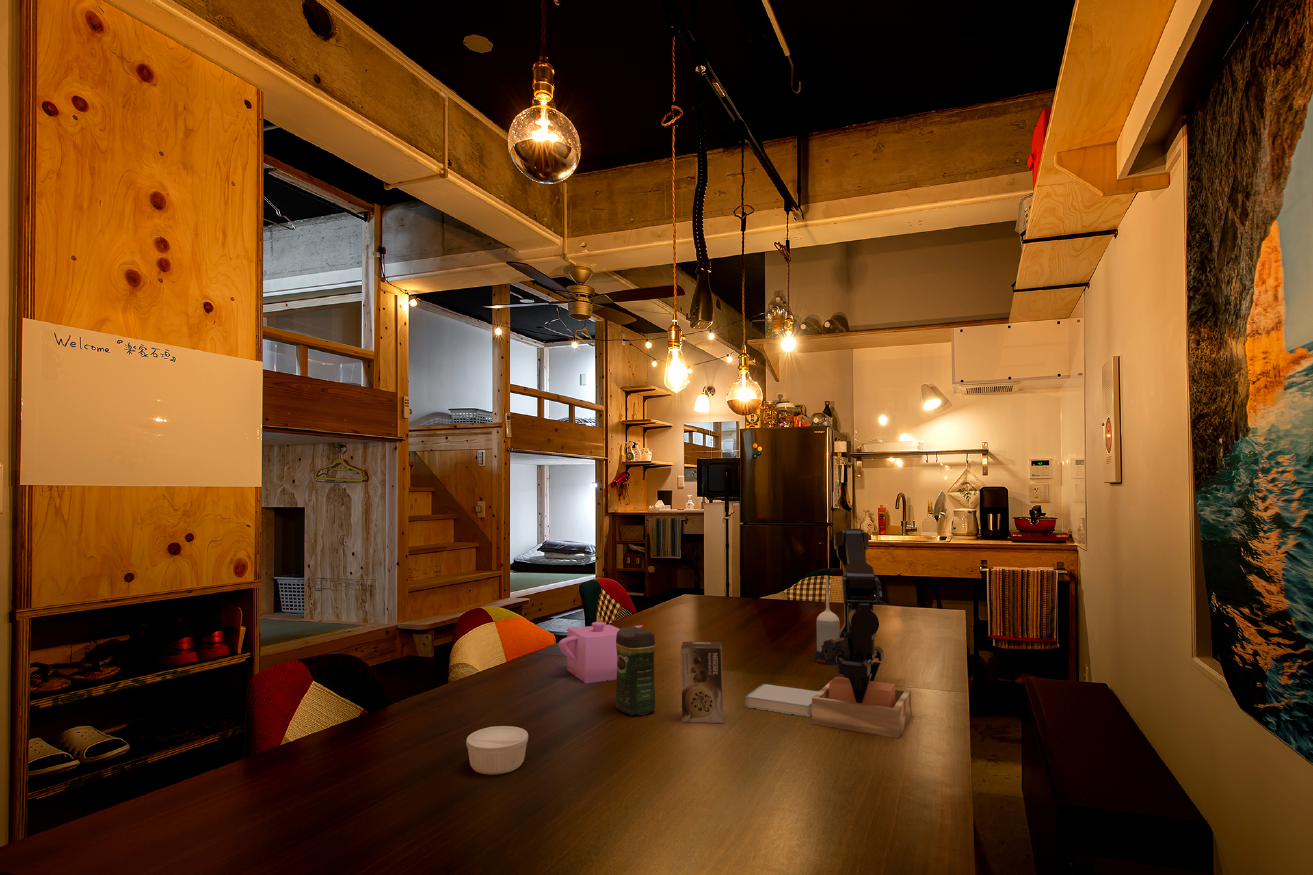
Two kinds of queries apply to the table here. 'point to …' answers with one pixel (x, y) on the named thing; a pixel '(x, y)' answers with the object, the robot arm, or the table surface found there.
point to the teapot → (591, 652)
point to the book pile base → (781, 700)
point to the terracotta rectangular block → (874, 694)
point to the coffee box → (701, 682)
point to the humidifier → (826, 631)
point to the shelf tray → (862, 714)
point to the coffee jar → (635, 671)
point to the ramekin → (497, 749)
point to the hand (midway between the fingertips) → (862, 699)
